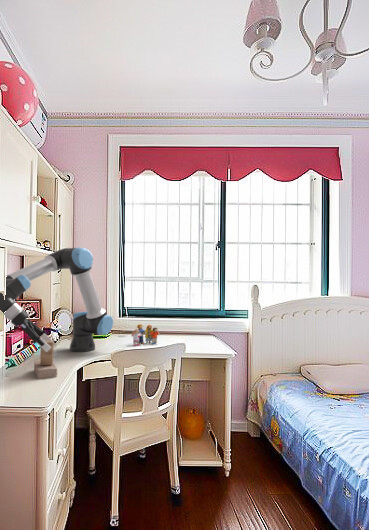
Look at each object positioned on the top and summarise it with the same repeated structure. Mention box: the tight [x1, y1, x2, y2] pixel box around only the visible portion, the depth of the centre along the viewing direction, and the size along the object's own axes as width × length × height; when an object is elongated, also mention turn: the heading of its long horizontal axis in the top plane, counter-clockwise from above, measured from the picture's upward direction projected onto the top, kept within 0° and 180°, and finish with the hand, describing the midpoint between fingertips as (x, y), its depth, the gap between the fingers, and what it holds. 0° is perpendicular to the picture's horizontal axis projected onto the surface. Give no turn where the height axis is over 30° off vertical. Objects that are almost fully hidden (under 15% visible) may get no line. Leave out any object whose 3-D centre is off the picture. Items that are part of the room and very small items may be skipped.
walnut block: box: [39, 340, 54, 365], centre depth 173 cm, size 5×5×10 cm
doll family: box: [131, 324, 161, 347], centre depth 250 cm, size 21×10×13 cm, turn 123°
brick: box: [33, 361, 58, 380], centre depth 172 cm, size 17×8×5 cm, turn 28°
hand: (50, 347), depth 174 cm, fingers open, 13 cm apart
